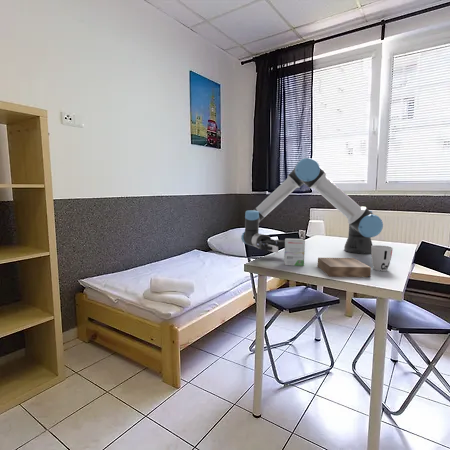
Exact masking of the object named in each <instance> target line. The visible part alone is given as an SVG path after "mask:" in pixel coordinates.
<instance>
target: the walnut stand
mask: <svg viewBox="0 0 450 450" xmlns="http://www.w3.org/2000/svg"><path fill="white" fill-rule="evenodd" d="M317 267H318V268H319V269H320V270H321V271H322V272H324V273H325V274H326V275H327V276H328V277H332V278H333V277H337V278H344V277H345V278H369V277H368V276H370V277H371V272H372V267H371V266H369V265H368V264H366V263H364V262H362V261H360V260H358V259H356V258H354V257H318V258H317Z"/></svg>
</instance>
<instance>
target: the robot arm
mask: <svg viewBox="0 0 450 450" xmlns="http://www.w3.org/2000/svg"><path fill="white" fill-rule="evenodd" d="M326 174H327V173H326V170H325V169H323V168H322V167H321V166H320V165H319V163H318V161H317V160H316V159H313V158H311V157H305V158H302V159H300V160H299V161H298V162H297V164H295V166H294V168H293V170H291V172H290V173H289V174H288V175H287V178H286V179H285V180H284V181H283V182H282V183H280V185H279V186H278V187H277V188H275V189H274V191H272V192H271V193H270V194H269V195H268V196H267V197H266V198H265V199H264V200H263V201H261V203H260V204H259V205H257V206H256V207H255V208H254V209H253V210H252V209H251V210H246V211H245V214H244V215H245V216H244V218H245V219H244V231H243V232H242V234H241V236H240V237H241V242H242V243H243V244H245V245H247V246H252V247H254V248H257V249H258V250H259V249H260V250H261V251H264V252H265V253H266V252H268V251H269V252H271V253H272V252H273V253H276V254H278V253H279V248H280V247H282V248H283V247H284V248H285V240H281V239H272V238H271V236H269V235H266V234H262V233H259V230H260V229H259V226H260V222H261V221H263V220H264V218H265V217H267V216H268V215H269V214H270V213H271V212H272V211H273V210H274V209H275V208H277V207H278V206H279V205H280V204H281V203H282V202H283V201H284V200H285V199H286V198H287V197H288V196H290V194H292V193H293V192H294V191H295V190H296V189H299V188H301V187H302V186H303V185H305V186H306V187H307V188H309V189H314V191H316V192H317V193H319V194H320V195H321V196H322V197H323V198H324V199H326V201H328V203H330V204H331V205H332V206H333V207H334V209H336V210H337V211H339V213H341V214H342V215H343V216H344V217H345V218H346V219H347V223H348V235H347V240H346V242H345V244H344V247H343V249H344V251H345V252H348V253H352V254H363V255H365V254H366V255H367V254H371V246H373V242H372V238H375V237H377V236H379V235H380V234H381V233H382V230H383V228H384V223H383V219H381V218H380V217H379V215H377V214H374V213H373V210H370V209H368V208H367V207H366V206H360V205H359V204H358V203H357V202H356V201H355V200H354V199H352V198H351V197H350V196H349V195H348V194H347V193H346V192H344V191H343V189H342V188H340V187H339V186H338V185H337V184H336V183H334V181H332V180H331V178H329V177H328V176H327V175H326Z"/></svg>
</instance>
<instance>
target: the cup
mask: <svg viewBox="0 0 450 450" xmlns="http://www.w3.org/2000/svg"><path fill="white" fill-rule="evenodd" d="M372 245H373V244H372ZM393 249H394V248H393V246H388V245H381V244H380V245H375V244H374V245H373V246H371V253H370V254H371V262H372V264H371V265H372V266H373V270H375V271H378V270H381V271H380V272H387V271H388V269H389V267H390V264H391V261H392V256H393ZM386 270H387V271H386Z"/></svg>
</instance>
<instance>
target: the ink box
mask: <svg viewBox="0 0 450 450" xmlns="http://www.w3.org/2000/svg"><path fill="white" fill-rule="evenodd" d="M284 241H285V247H284V254H283V264H284V265H285V266H297V267H298V266H300V267H304V266H305V252H306V251H305V248H306V240H305V239H304V238H303V239H302V238H286V237H285V239H284Z"/></svg>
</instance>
